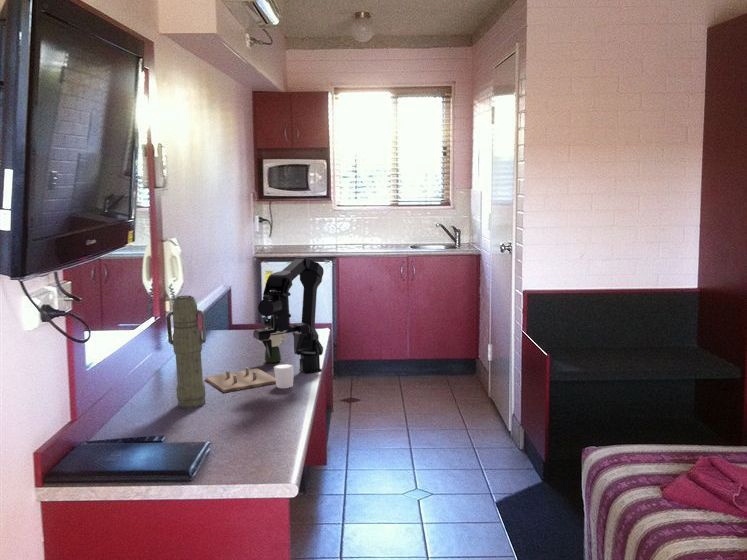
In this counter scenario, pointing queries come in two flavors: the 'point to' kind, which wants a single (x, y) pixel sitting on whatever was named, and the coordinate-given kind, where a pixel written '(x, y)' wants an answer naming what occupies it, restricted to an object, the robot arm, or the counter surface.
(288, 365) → the shot glass
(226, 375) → the pin plate
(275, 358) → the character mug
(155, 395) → the counter surface
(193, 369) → the thermos
